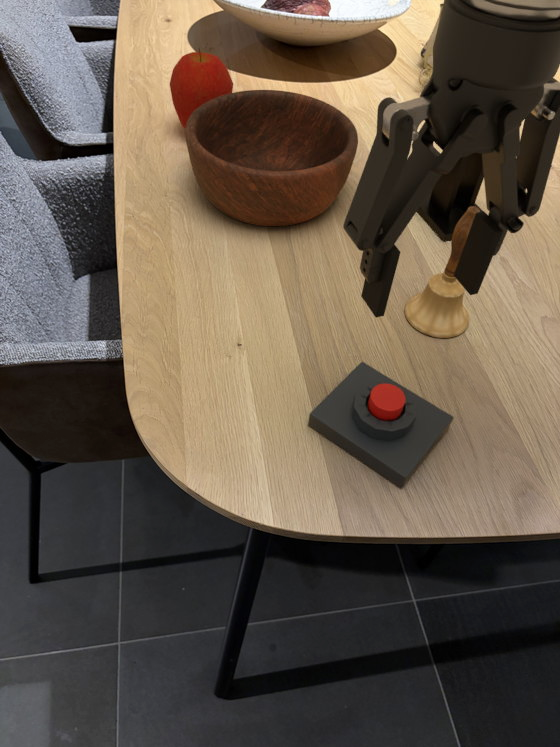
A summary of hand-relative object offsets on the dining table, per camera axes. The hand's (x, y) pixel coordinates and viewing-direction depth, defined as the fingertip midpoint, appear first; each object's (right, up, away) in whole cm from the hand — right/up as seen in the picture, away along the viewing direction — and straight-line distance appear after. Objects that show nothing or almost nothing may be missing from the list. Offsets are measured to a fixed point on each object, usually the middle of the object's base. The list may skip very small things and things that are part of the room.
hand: (420, 294), depth 51 cm
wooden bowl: (-14, +22, +43) cm, 51 cm away
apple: (-25, +35, +54) cm, 70 cm away
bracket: (+14, +18, +42) cm, 48 cm away
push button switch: (-1, -13, +15) cm, 19 cm away
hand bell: (+8, +1, +27) cm, 28 cm away
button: (-1, -10, +12) cm, 16 cm away
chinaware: (+25, +56, +76) cm, 98 cm away
